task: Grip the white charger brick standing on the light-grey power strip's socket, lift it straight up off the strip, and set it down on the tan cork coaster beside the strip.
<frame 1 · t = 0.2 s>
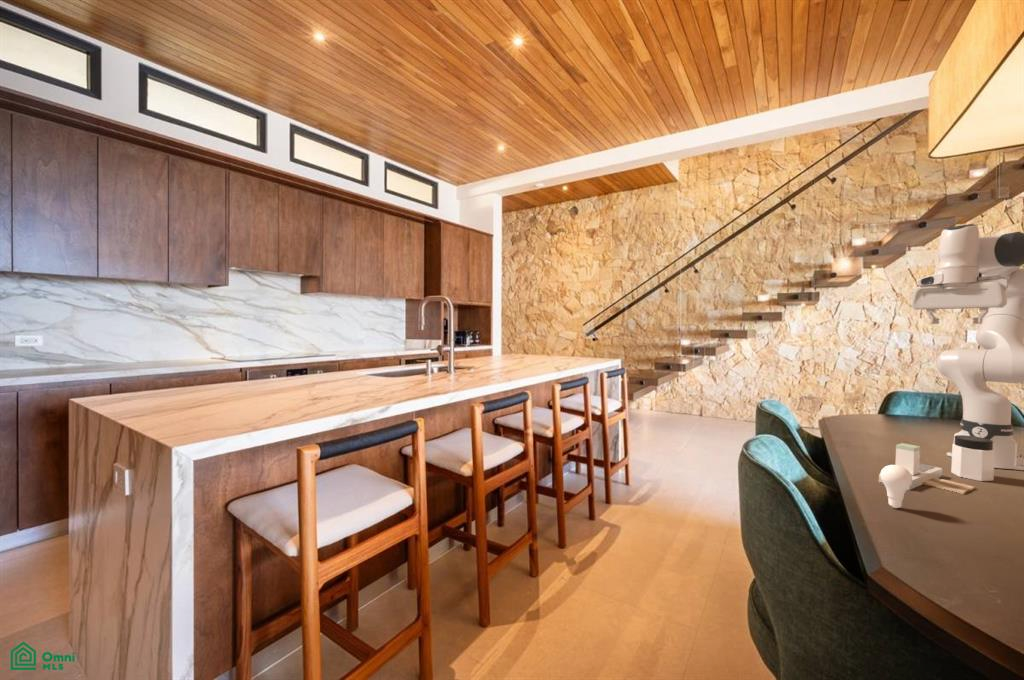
hand: (955, 323, 131), 47 cm above the table, tool pointing down, fingers open, 8 cm apart
charger: (907, 471, 129), point 3 cm above the table, touching power strip
lightbulb: (894, 508, 109), on the table
coaster: (947, 486, 125), on the table
jar: (971, 477, 133), on the table
power strip: (911, 479, 130), on the table
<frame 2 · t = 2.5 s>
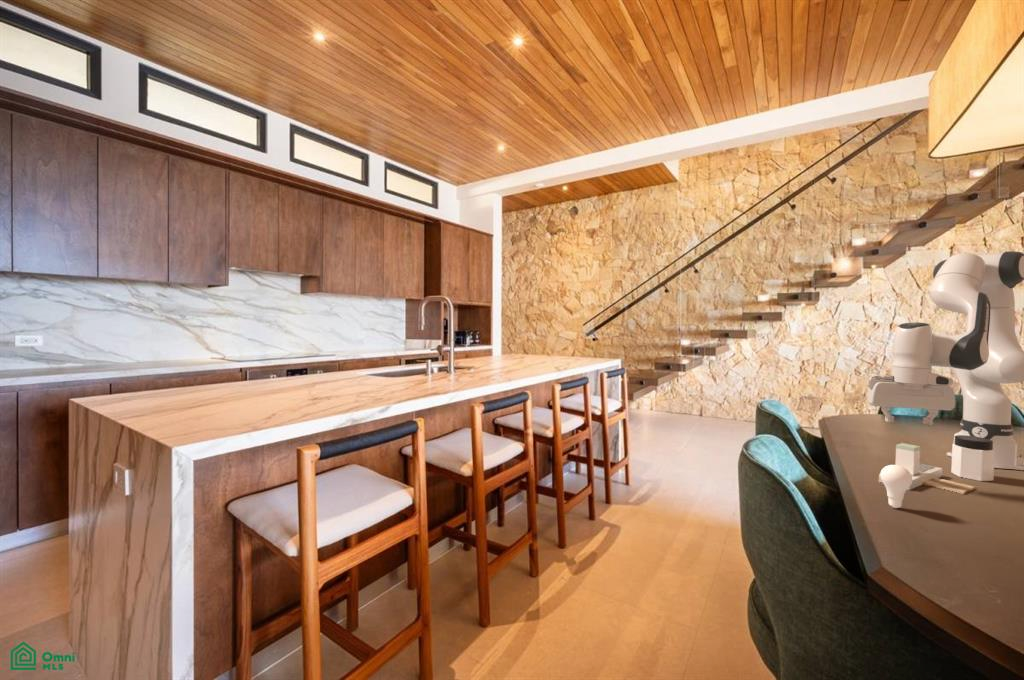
hand: (908, 422, 128), 18 cm above the table, tool pointing down, fingers open, 8 cm apart
nothing on the table moved.
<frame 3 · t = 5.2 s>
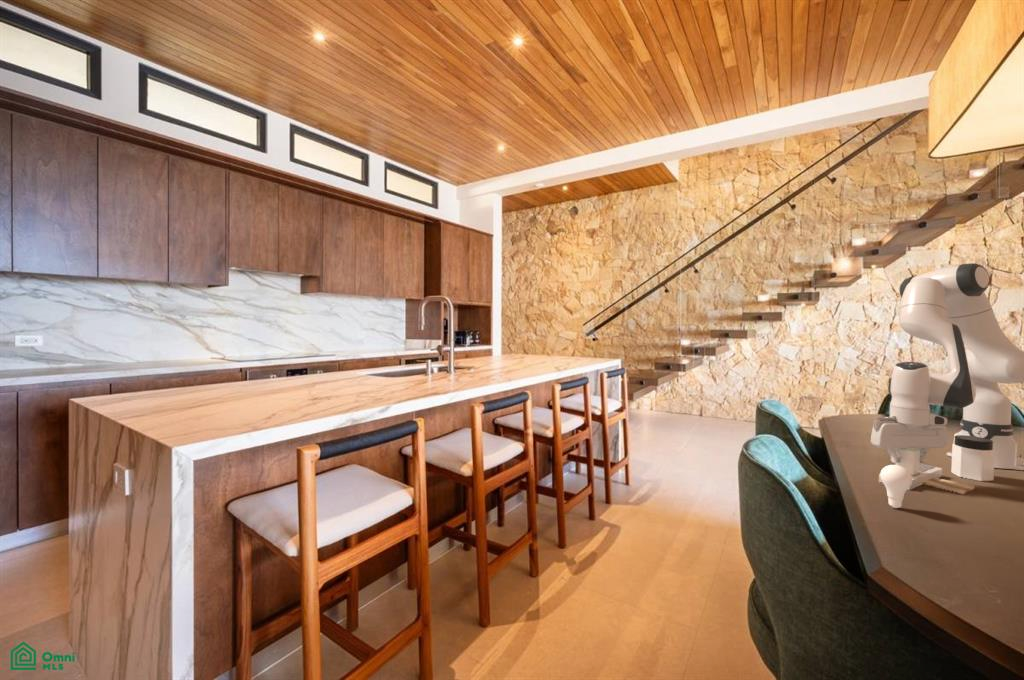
hand: (907, 462, 129), 6 cm above the table, tool pointing down, fingers closed on charger, 6 cm apart
charger: (907, 471, 129), point 3 cm above the table, touching gripper, power strip
everything else where it was.
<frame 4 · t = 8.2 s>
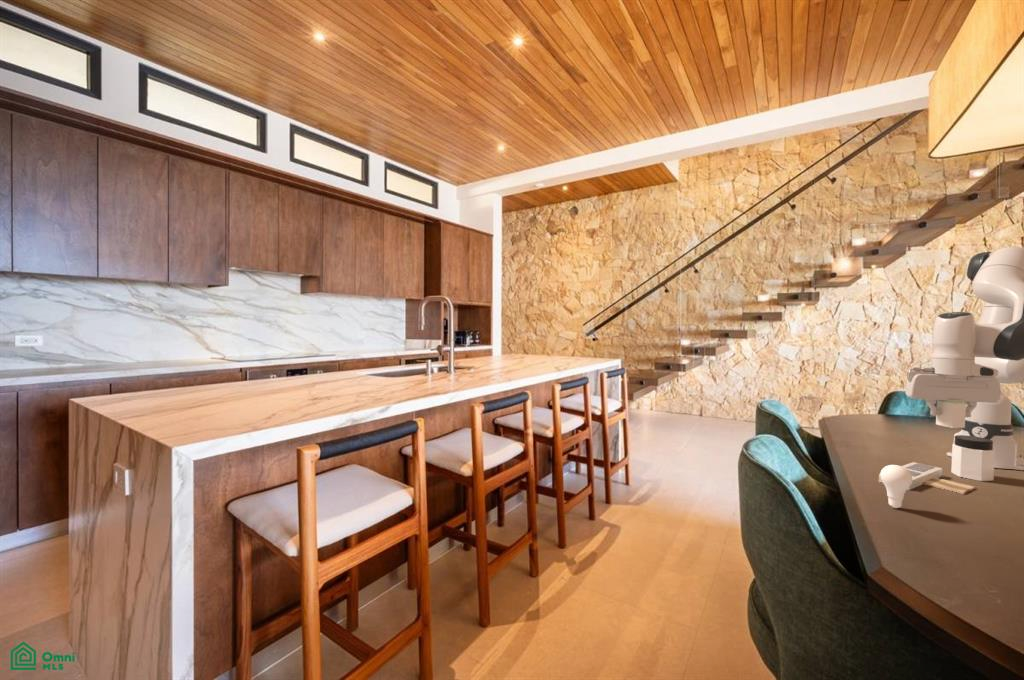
hand: (950, 416, 124), 21 cm above the table, tool pointing down, fingers closed on charger, 6 cm apart
charger: (950, 426, 124), point 18 cm above the table, touching gripper
everything else where it was.
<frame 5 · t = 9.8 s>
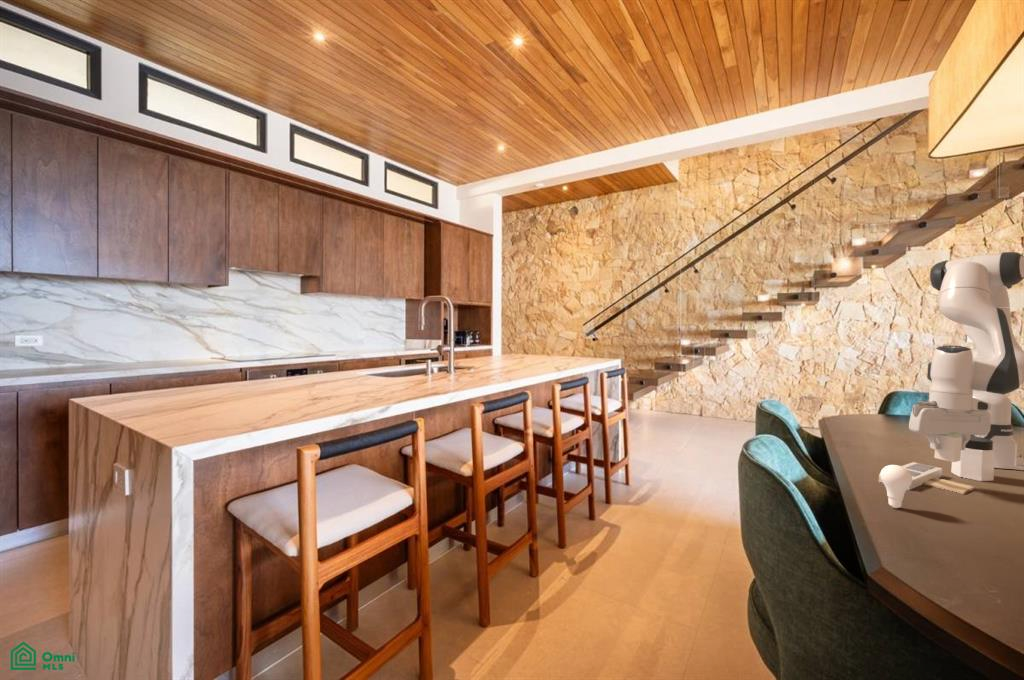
hand: (947, 449, 125), 11 cm above the table, tool pointing down, fingers closed on charger, 5 cm apart
charger: (947, 459, 125), point 8 cm above the table, touching gripper
everything else where it was.
when the fingers open (5 cm above the table, at t = 11.4 s): charger drops 2 cm, resting on coaster.
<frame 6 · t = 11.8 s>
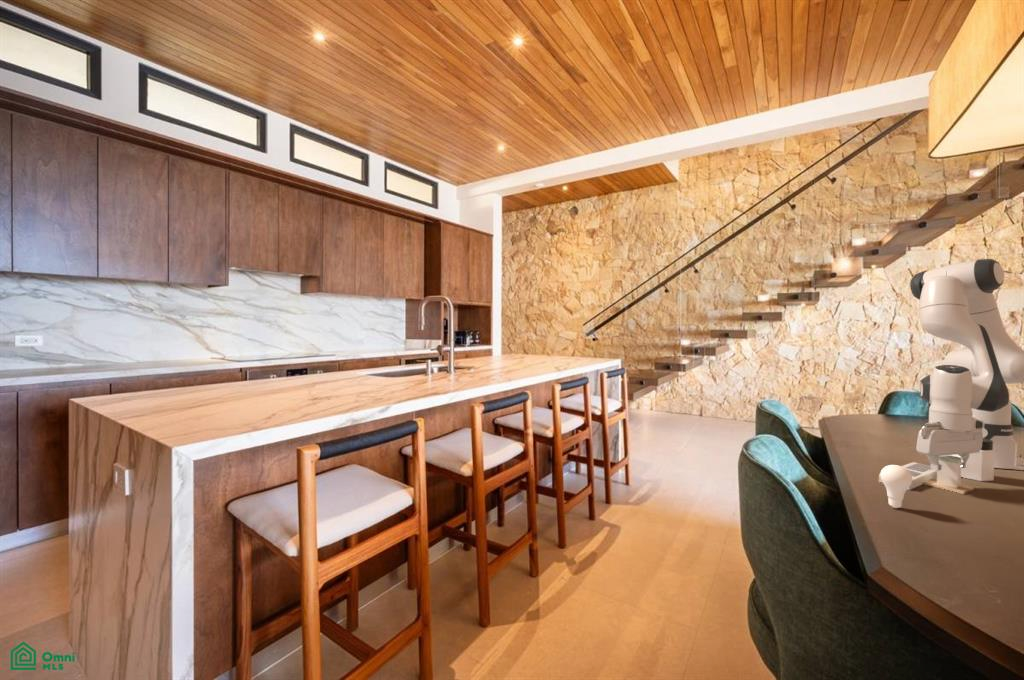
hand: (948, 468, 125), 5 cm above the table, tool pointing down, fingers open, 8 cm apart
charger: (948, 484, 125), point 1 cm above the table, touching coaster
everything else where it was.
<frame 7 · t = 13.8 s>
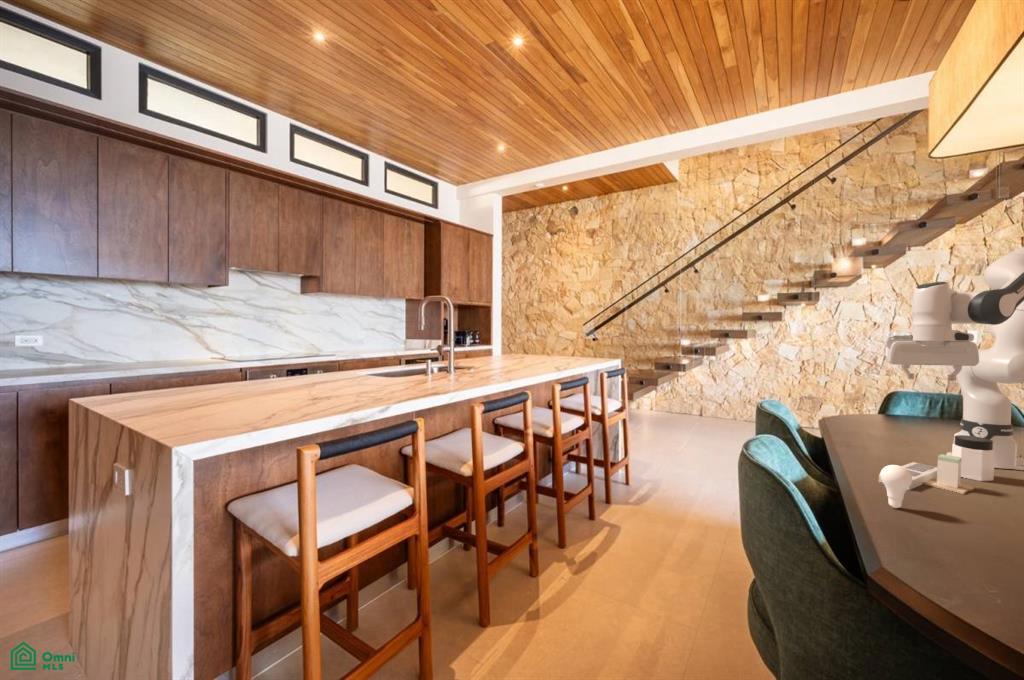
hand: (930, 379, 132), 30 cm above the table, tool pointing down, fingers open, 8 cm apart
nothing on the table moved.
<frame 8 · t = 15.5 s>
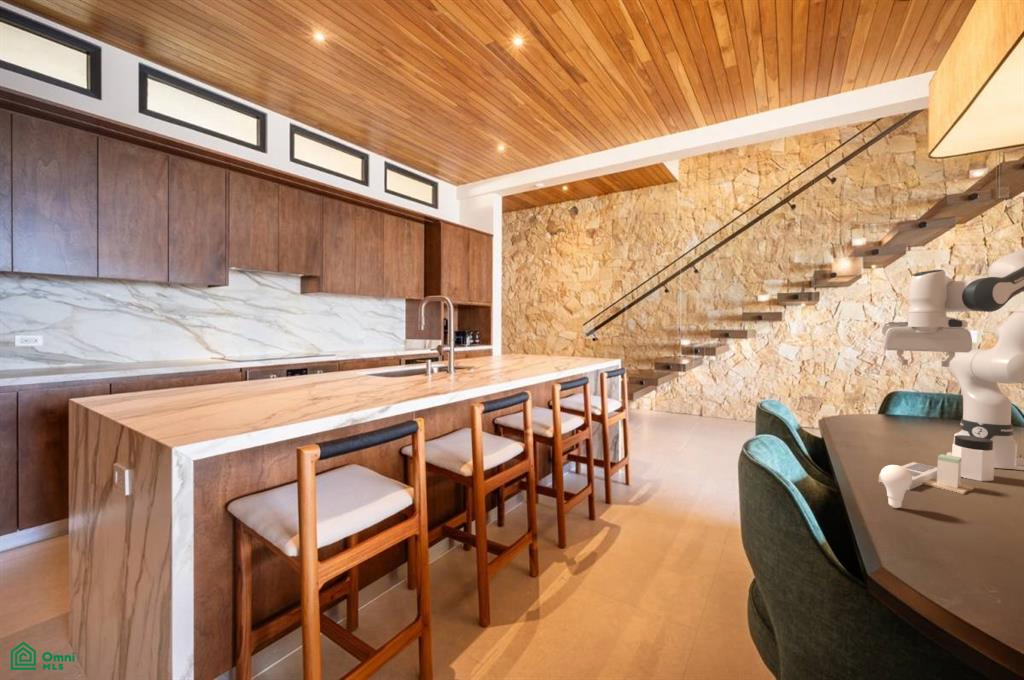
hand: (924, 365, 135), 34 cm above the table, tool pointing down, fingers open, 8 cm apart
nothing on the table moved.
at the end: charger inside the target area (0.3 cm from its centre), point 0.6 cm above the table; charger tilted 0°; the gripper is holding nothing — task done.
